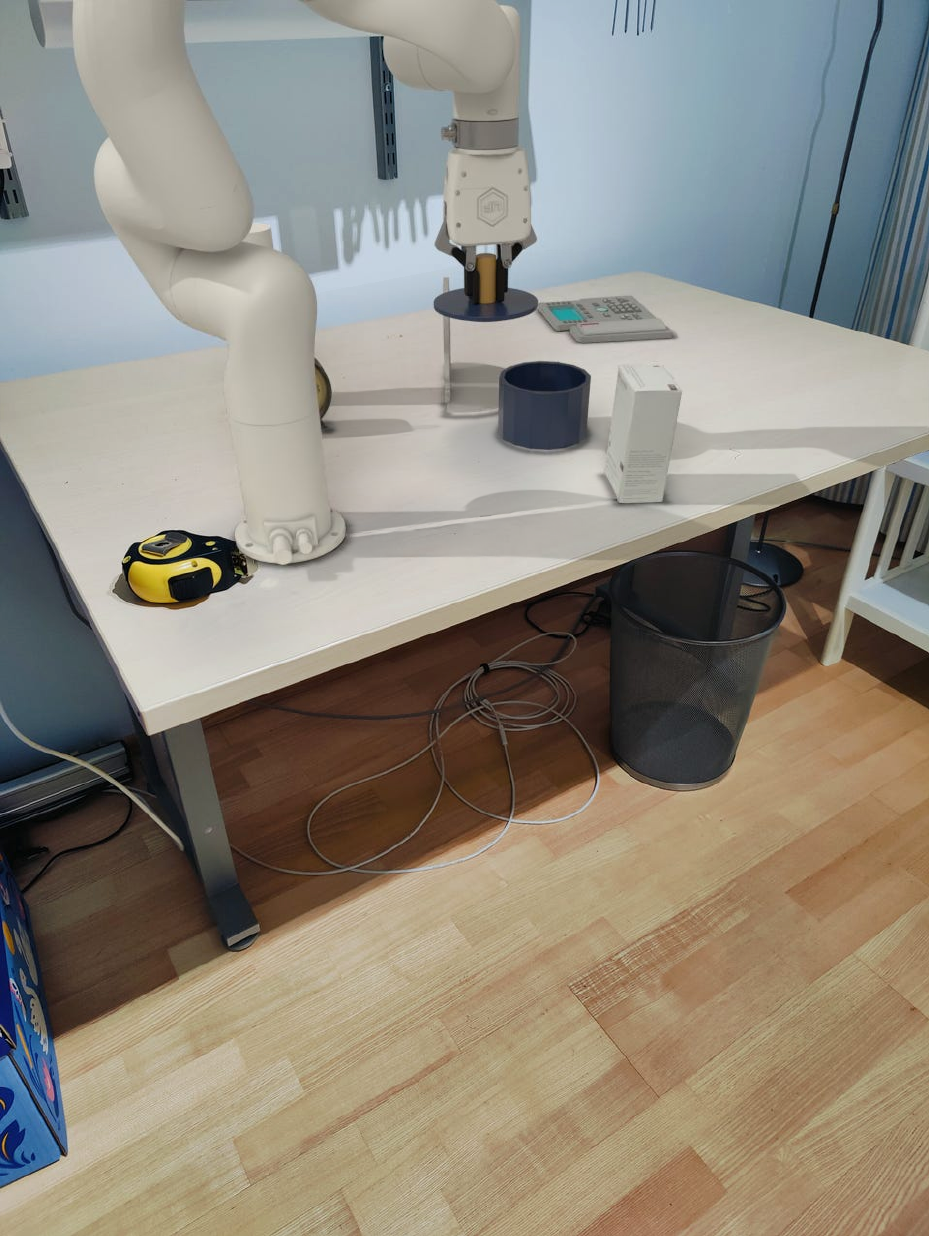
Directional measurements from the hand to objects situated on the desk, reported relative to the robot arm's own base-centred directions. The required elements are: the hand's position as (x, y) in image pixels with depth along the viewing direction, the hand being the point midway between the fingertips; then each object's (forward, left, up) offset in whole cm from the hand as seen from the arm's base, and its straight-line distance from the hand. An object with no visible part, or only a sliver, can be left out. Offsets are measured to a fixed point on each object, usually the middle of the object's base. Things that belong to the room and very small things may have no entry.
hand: (486, 298), depth 110 cm
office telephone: (+47, -35, -20) cm, 62 cm away
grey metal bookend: (+19, -5, -20) cm, 28 cm away
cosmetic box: (-19, -14, -20) cm, 31 cm away
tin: (0, -8, -19) cm, 21 cm away
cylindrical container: (+23, +29, -20) cm, 42 cm away
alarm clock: (+10, +26, -20) cm, 34 cm away
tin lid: (0, 0, -1) cm, 1 cm away
